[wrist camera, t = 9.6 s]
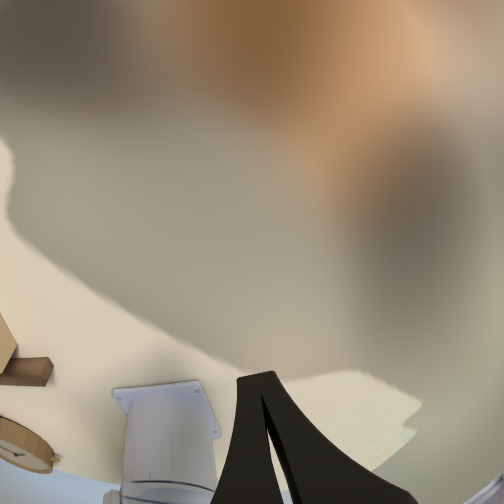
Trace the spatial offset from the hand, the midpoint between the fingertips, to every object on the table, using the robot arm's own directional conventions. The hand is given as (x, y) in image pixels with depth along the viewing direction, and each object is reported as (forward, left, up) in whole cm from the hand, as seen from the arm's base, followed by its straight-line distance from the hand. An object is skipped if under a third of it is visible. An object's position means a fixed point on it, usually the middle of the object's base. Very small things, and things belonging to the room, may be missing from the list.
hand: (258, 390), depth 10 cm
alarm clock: (-19, +34, -10) cm, 40 cm away
